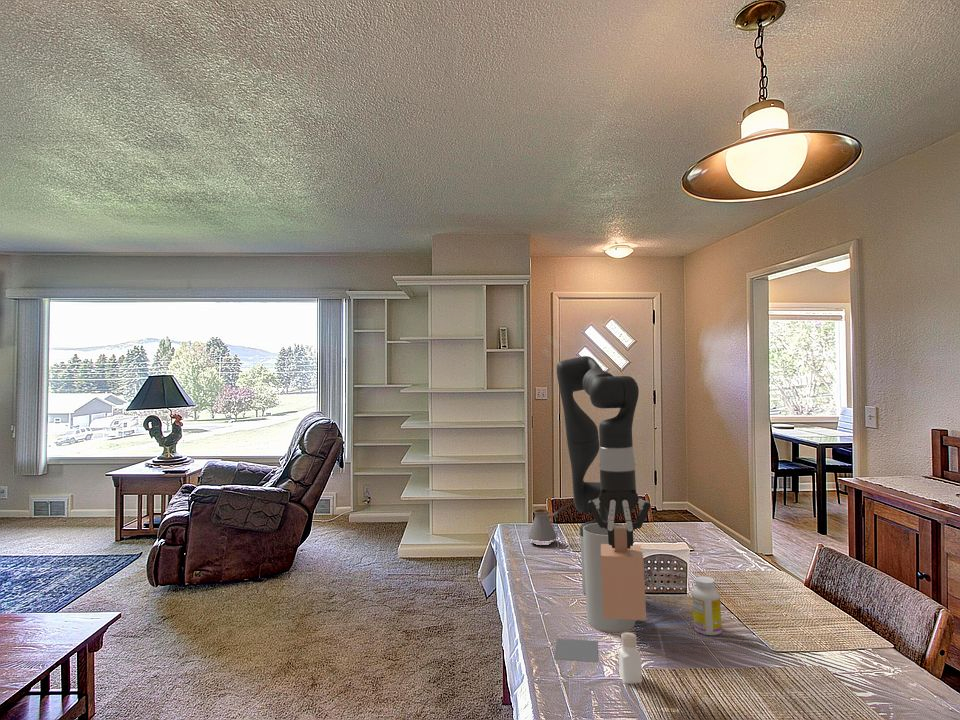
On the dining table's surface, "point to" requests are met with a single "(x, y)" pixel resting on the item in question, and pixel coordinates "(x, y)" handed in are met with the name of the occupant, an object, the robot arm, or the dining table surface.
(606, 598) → the orange square bottle
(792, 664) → the dining table surface
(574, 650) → the mat
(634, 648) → the salt shaker
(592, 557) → the cylinder vase
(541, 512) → the coffee pot
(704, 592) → the supplement bottle
